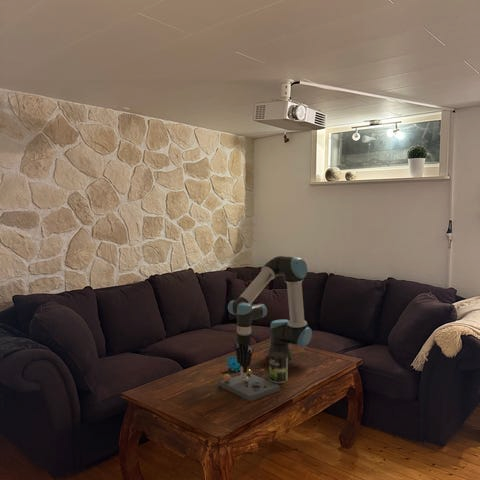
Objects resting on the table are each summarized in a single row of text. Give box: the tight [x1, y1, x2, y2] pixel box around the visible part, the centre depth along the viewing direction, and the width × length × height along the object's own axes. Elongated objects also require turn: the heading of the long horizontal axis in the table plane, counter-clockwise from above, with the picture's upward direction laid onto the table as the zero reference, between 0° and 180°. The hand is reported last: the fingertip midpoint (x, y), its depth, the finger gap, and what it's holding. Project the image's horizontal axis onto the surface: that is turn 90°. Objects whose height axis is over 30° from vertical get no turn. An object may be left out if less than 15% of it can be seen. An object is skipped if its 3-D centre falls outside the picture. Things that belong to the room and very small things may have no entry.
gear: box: [225, 355, 241, 373], centre depth 257 cm, size 11×6×10 cm
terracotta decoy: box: [222, 373, 232, 382], centre depth 231 cm, size 4×4×4 cm
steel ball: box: [244, 376, 250, 383], centre depth 231 cm, size 3×3×3 cm
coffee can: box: [268, 351, 289, 384], centre depth 241 cm, size 10×10×14 cm
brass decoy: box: [246, 368, 253, 375], centre depth 241 cm, size 3×3×3 cm
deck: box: [219, 373, 281, 402], centre depth 229 cm, size 24×20×2 cm
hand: (243, 378), depth 232 cm, fingers closed
